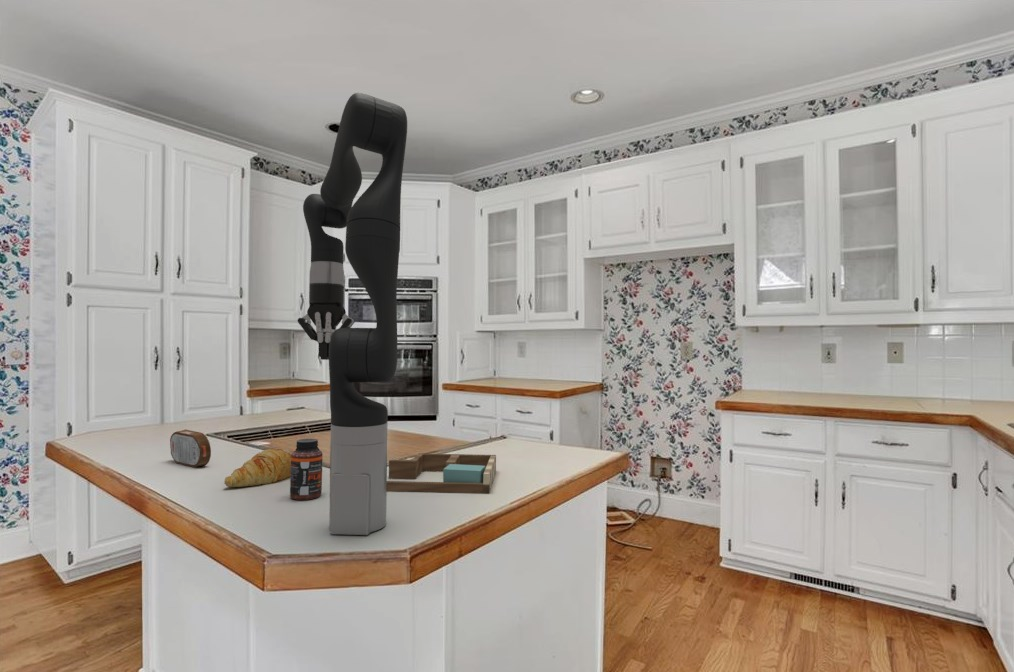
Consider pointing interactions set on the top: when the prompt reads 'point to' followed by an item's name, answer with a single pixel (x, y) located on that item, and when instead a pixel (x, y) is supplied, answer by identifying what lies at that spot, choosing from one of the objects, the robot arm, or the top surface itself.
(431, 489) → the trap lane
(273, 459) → the croissant
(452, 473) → the block
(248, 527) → the top surface
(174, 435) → the tin
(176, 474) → the top surface
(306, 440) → the supplement bottle
